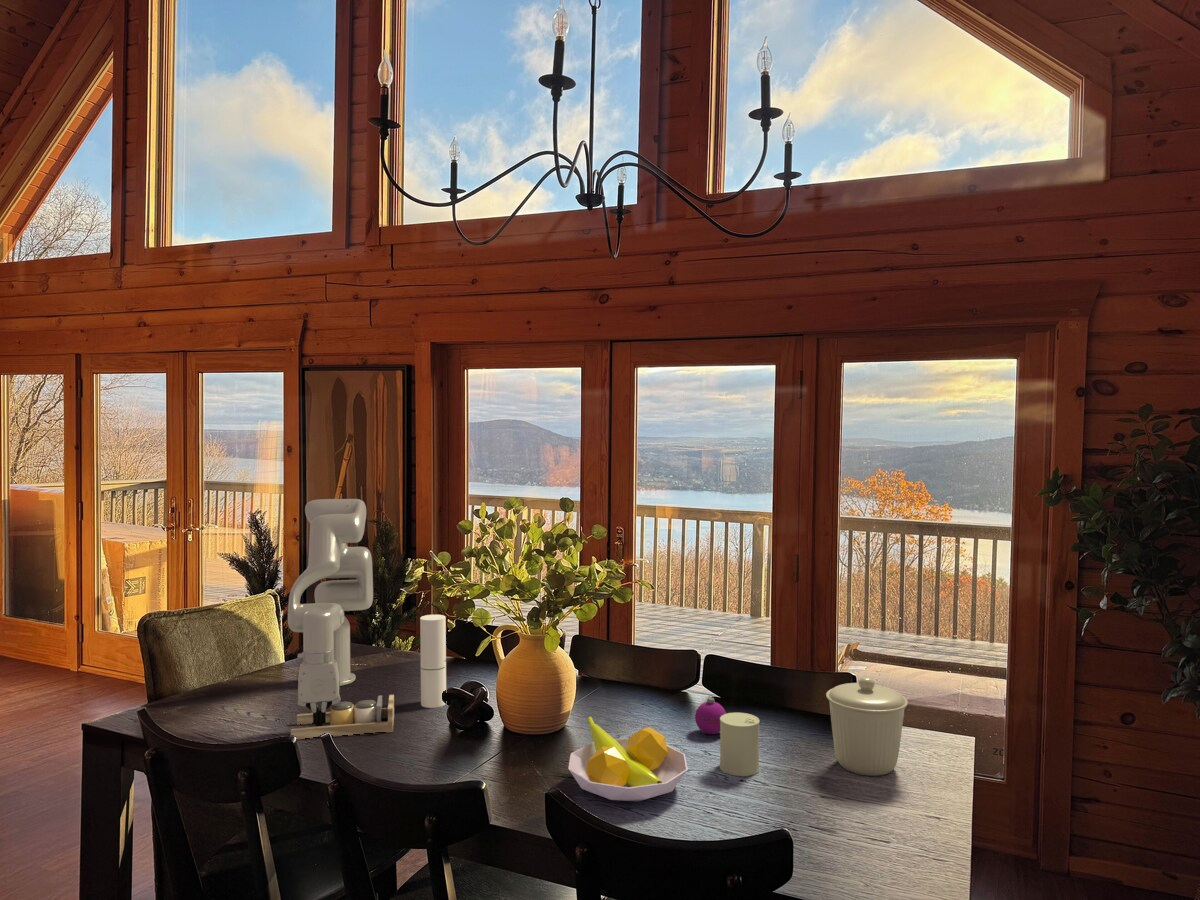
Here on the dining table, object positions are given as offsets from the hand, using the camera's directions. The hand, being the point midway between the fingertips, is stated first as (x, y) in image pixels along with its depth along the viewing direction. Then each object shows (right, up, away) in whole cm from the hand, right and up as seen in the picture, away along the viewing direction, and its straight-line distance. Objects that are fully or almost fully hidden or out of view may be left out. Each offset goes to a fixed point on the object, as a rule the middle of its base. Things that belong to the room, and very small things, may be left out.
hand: (319, 725), depth 216 cm
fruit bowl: (+80, -2, -34) cm, 87 cm away
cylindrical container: (+26, -1, +20) cm, 33 cm away
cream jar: (+11, -1, +2) cm, 12 cm away
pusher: (+15, 0, +3) cm, 15 cm away
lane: (+6, -1, +2) cm, 7 cm away
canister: (+136, -2, -24) cm, 138 cm away
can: (+106, -2, -25) cm, 109 cm away
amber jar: (+6, -1, +1) cm, 6 cm away
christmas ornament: (+103, -1, -3) cm, 103 cm away
